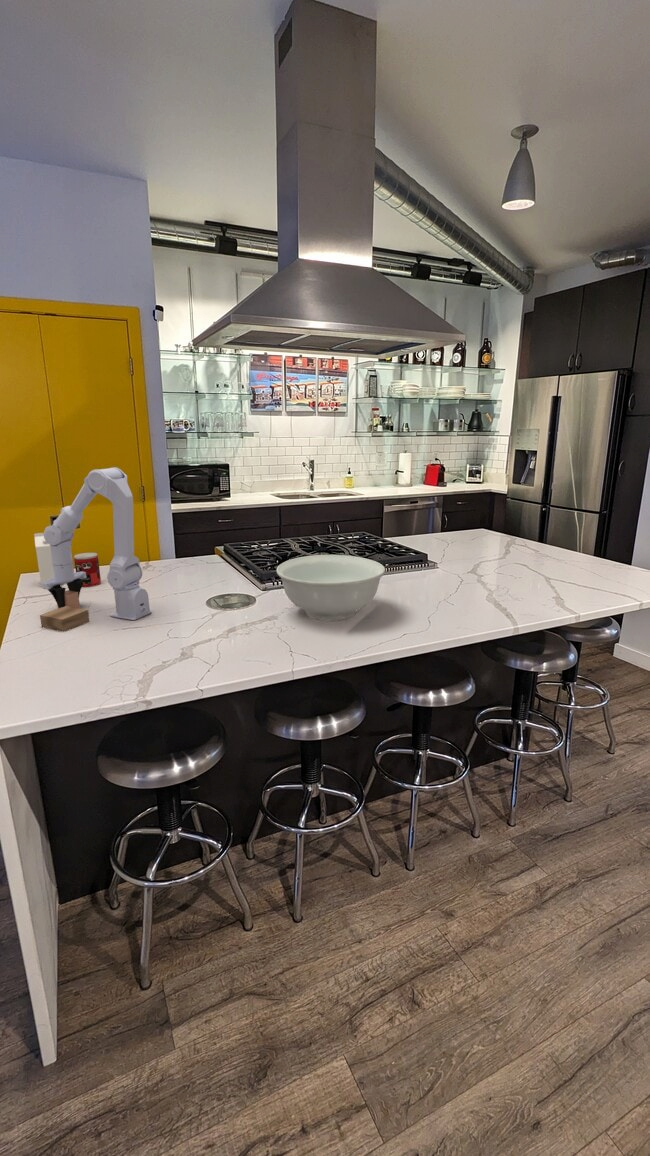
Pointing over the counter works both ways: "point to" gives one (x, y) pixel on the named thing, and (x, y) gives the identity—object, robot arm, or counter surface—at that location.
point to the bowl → (330, 584)
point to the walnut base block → (64, 618)
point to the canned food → (88, 568)
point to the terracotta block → (71, 599)
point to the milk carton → (43, 558)
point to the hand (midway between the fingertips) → (68, 605)
